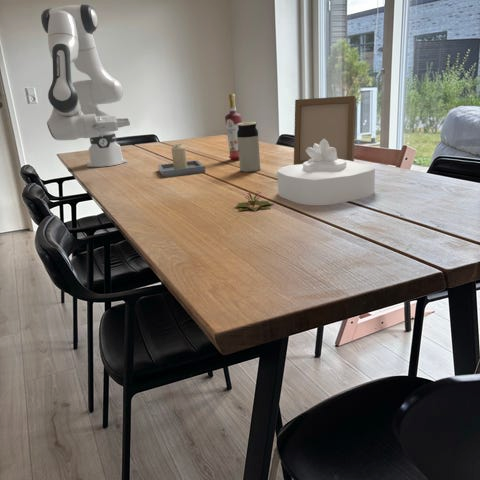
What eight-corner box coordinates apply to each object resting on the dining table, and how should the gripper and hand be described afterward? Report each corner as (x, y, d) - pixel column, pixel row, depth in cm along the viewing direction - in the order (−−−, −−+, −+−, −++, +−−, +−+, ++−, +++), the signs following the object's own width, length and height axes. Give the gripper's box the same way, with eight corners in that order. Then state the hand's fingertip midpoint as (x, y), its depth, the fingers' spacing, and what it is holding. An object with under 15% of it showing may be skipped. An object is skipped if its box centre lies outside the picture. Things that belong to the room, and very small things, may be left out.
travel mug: (262, 168, 184) (259, 121, 178) (257, 172, 176) (253, 123, 171) (243, 168, 186) (240, 122, 180) (237, 172, 179) (233, 124, 173)
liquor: (248, 158, 209) (243, 93, 200) (239, 161, 204) (234, 94, 195) (234, 157, 213) (229, 94, 204) (225, 160, 208) (219, 95, 198)
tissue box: (312, 209, 123) (310, 148, 118) (268, 192, 145) (265, 140, 140) (387, 193, 132) (388, 136, 127) (335, 180, 154) (334, 130, 149)
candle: (185, 170, 187) (182, 145, 184) (172, 170, 188) (169, 145, 185) (189, 167, 192) (186, 143, 189) (176, 168, 193) (173, 143, 190)
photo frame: (351, 168, 168) (351, 96, 161) (293, 168, 177) (291, 100, 169) (358, 161, 181) (358, 94, 174) (303, 162, 190) (301, 98, 182)
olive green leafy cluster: (232, 204, 136) (231, 189, 134) (273, 201, 136) (272, 185, 134) (232, 215, 125) (231, 199, 123) (277, 212, 124) (276, 195, 123)
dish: (158, 170, 197) (157, 164, 196) (198, 165, 200) (197, 160, 200) (162, 177, 181) (161, 171, 180) (205, 172, 185) (204, 166, 184)
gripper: (90, 120, 169) (128, 115, 172) (91, 115, 188) (126, 111, 191) (93, 137, 171) (131, 133, 174) (94, 130, 190) (129, 127, 193)
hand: (129, 121), depth 183 cm, fingers open, 8 cm apart
